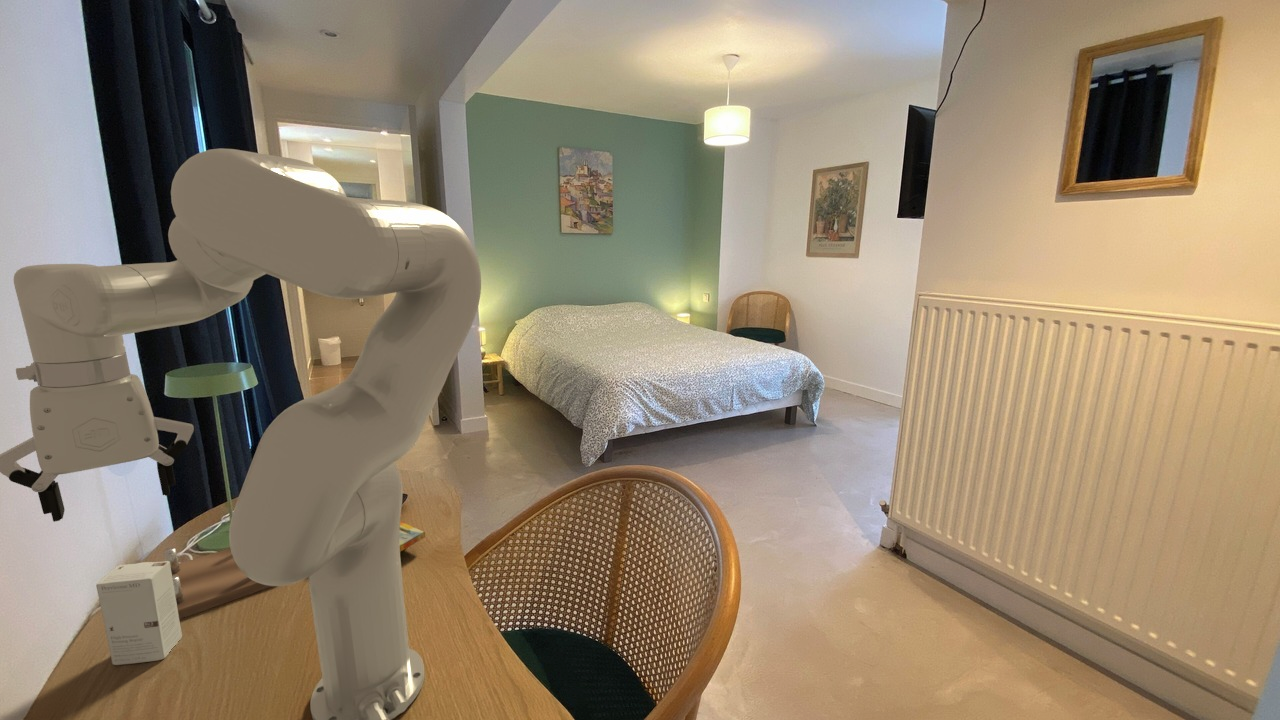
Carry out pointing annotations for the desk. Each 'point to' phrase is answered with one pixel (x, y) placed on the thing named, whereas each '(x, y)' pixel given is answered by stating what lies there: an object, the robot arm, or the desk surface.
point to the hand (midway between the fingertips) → (115, 503)
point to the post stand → (208, 581)
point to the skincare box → (139, 612)
